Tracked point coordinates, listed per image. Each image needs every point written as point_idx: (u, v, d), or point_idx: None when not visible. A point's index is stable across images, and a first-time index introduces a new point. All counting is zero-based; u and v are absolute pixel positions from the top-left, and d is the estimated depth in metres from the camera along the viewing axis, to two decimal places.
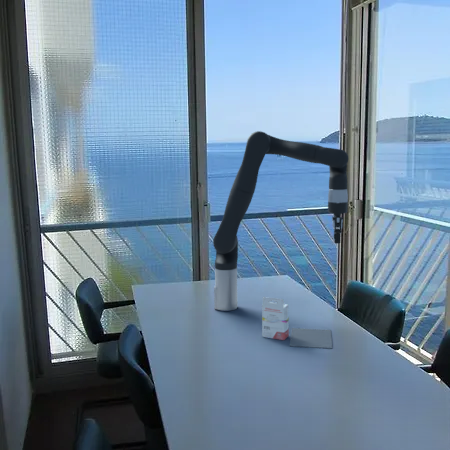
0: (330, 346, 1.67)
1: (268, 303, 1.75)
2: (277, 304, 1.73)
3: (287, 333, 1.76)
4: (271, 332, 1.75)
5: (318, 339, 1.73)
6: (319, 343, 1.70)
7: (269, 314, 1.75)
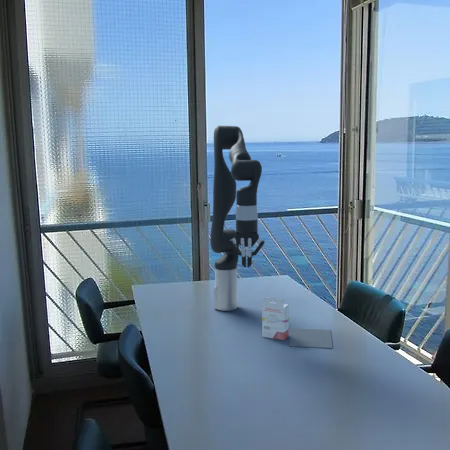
0: (330, 346, 1.67)
1: (268, 303, 1.75)
2: (277, 304, 1.73)
3: (287, 333, 1.76)
4: (271, 332, 1.75)
5: (318, 339, 1.73)
6: (319, 343, 1.70)
7: (269, 314, 1.75)
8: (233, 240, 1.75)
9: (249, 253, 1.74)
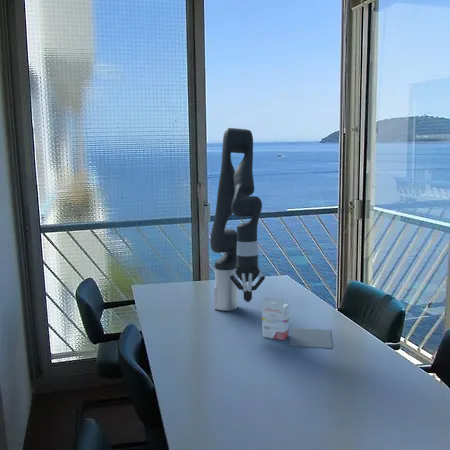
0: (330, 346, 1.67)
1: (268, 303, 1.75)
2: (277, 304, 1.73)
3: (287, 333, 1.76)
4: (271, 332, 1.75)
5: (318, 339, 1.73)
6: (319, 343, 1.70)
7: (269, 314, 1.75)
8: (234, 275, 1.77)
9: (249, 288, 1.76)
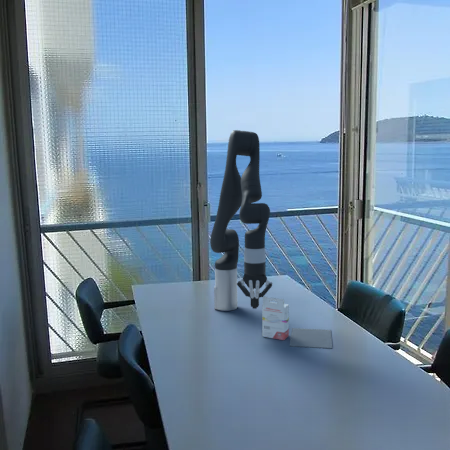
0: (330, 346, 1.67)
1: (268, 303, 1.75)
2: (277, 304, 1.73)
3: (287, 333, 1.76)
4: (271, 332, 1.75)
5: (318, 339, 1.73)
6: (319, 343, 1.70)
7: (269, 314, 1.75)
8: (241, 282, 1.76)
9: (256, 295, 1.75)
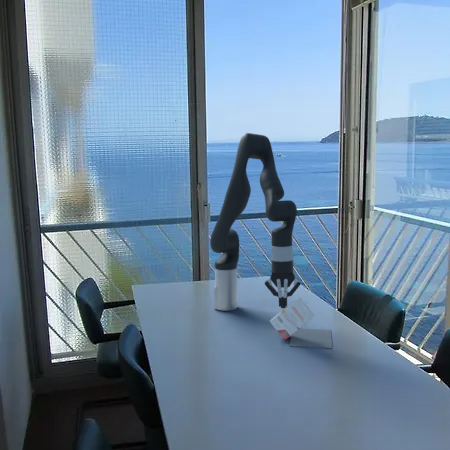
0: (330, 346, 1.67)
1: (299, 306, 1.70)
2: (305, 313, 1.69)
3: None
4: (280, 326, 1.74)
5: (318, 339, 1.73)
6: (319, 343, 1.70)
7: (291, 313, 1.71)
8: (269, 281, 1.73)
9: (284, 294, 1.72)
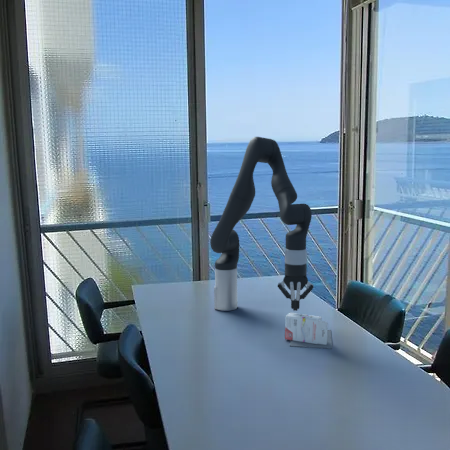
0: (330, 346, 1.67)
1: (320, 327, 1.68)
2: (320, 337, 1.68)
3: None
4: (291, 327, 1.72)
5: None
6: None
7: (309, 327, 1.69)
8: (282, 283, 1.74)
9: (297, 297, 1.73)
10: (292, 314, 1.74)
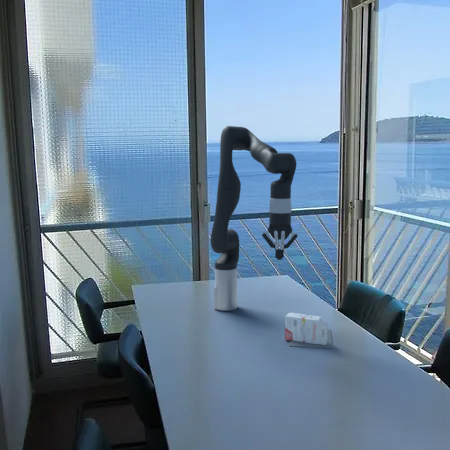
0: (330, 346, 1.67)
1: (320, 328, 1.68)
2: (320, 337, 1.68)
3: None
4: (291, 327, 1.72)
5: None
6: None
7: (309, 327, 1.69)
8: (266, 233, 1.76)
9: (281, 246, 1.75)
10: (292, 314, 1.74)
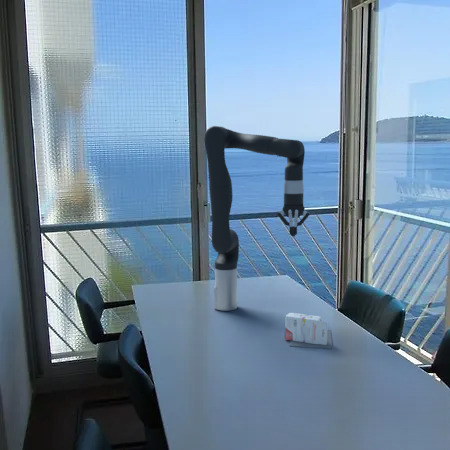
0: (330, 346, 1.67)
1: (320, 328, 1.68)
2: (320, 337, 1.68)
3: None
4: (291, 327, 1.72)
5: None
6: None
7: (309, 327, 1.69)
8: (281, 212, 1.96)
9: (295, 223, 1.94)
10: (292, 314, 1.74)
